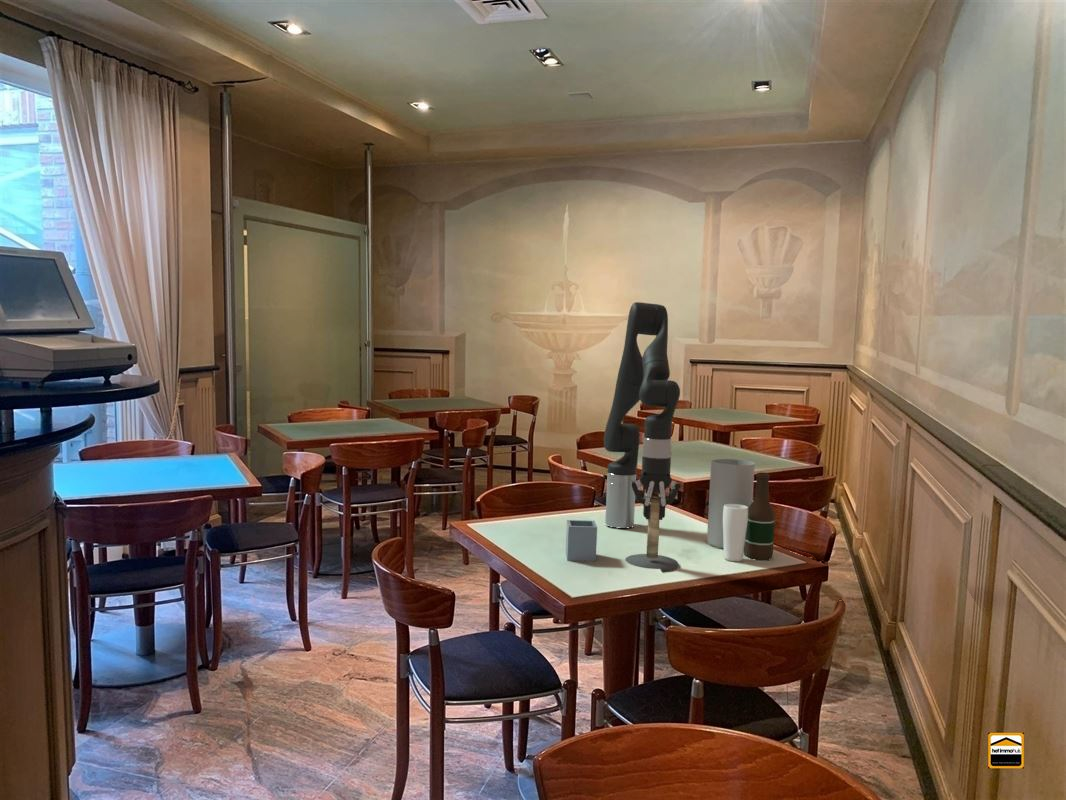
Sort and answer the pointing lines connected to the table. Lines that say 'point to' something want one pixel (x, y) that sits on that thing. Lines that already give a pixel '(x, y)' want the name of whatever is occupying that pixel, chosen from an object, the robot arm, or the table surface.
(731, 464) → the cylinder vase
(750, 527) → the beer bottle
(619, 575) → the table surface
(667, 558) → the gray disc
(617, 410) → the robot arm
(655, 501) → the beech dowel
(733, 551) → the drinking glass
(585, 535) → the deep cup
